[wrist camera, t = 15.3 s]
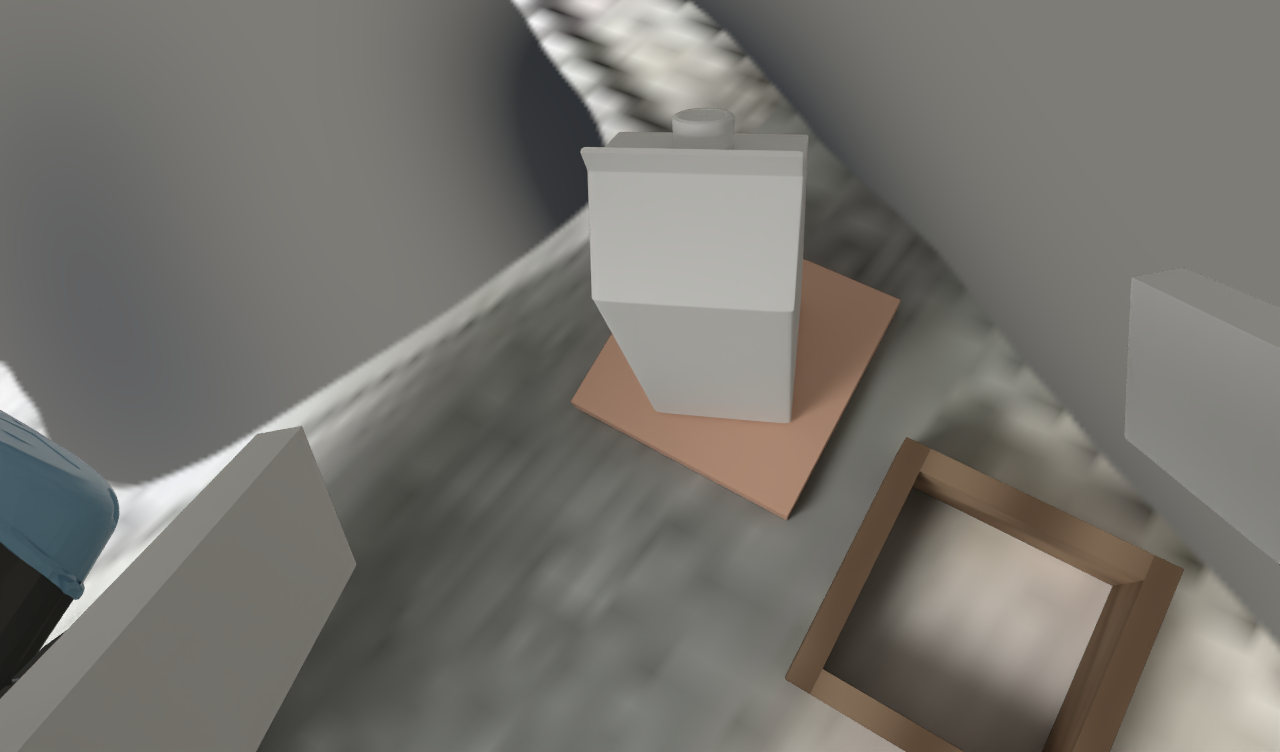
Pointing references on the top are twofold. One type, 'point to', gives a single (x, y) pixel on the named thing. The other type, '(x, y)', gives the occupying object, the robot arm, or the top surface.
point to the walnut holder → (1132, 571)
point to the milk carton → (702, 262)
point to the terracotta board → (753, 450)
